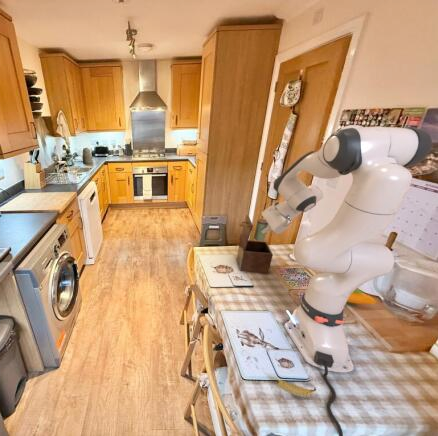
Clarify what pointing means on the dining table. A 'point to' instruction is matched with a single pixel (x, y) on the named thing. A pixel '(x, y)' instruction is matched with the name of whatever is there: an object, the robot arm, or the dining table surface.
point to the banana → (295, 389)
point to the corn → (360, 298)
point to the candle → (302, 233)
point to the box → (255, 257)
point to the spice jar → (260, 225)
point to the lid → (245, 231)
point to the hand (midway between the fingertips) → (259, 229)
